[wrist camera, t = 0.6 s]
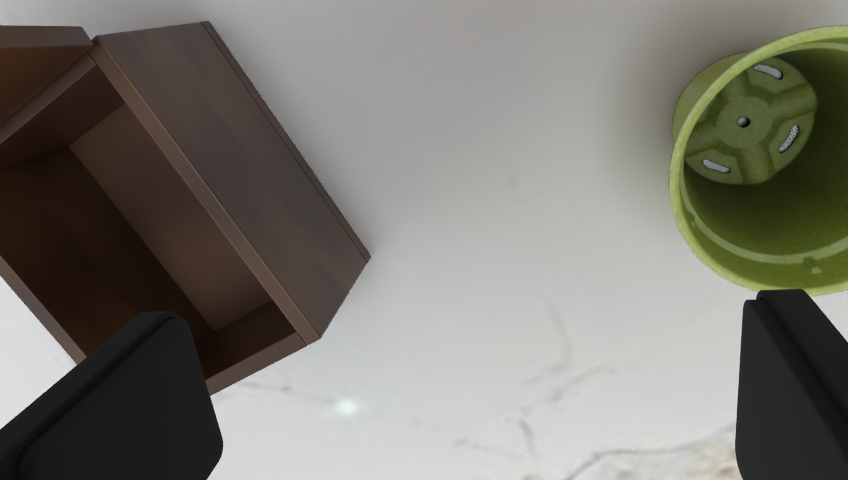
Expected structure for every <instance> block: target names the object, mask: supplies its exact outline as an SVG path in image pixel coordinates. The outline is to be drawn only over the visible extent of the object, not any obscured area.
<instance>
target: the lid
mask: <svg viewBox="0 0 848 480" xmlns="http://www.w3.org/2000/svg"><path fill="white" fill-rule="evenodd" d="M92 46H93V43H92V41H91V40H90V38H89V37H88V35H87V34H86V32H85V31H84V29H83V28H82V27H76V26H2V25H0V124H1V123H2V122H4V121H5V120H6V119H7V118H8V117H9V116H11V115H12V114H13V113H14V112H15V111H17V110H18V109H19V108H20V107H21V106H22V105H24V104H25V103H26V102H27V101H28V100H30V99H31V98H32V97H33V96H34V95H35V94H37V93H38V92H39V91H40V90H41V89H43V88H44V87H45V86H46V85H47V84H49V83H50V82H51V81H52V80H53V79H54V78H56V77H57V76H58V75H59V74H60V73H62V72H63V71H64V70H65V69H66V68H67V67H69V66H70V65H71V64H72V63H73V62H75V61H76V60H77V59H78V58H79V57H81V56H82V55H83V54H84V53H85V52H86V51H88V50H89V49H90V48H91V47H92Z"/></svg>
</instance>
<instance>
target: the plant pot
mask: <svg viewBox="0 0 848 480" xmlns="http://www.w3.org/2000/svg"><path fill="white" fill-rule="evenodd" d="M759 64H762V65H767V66H770V67H773V68H777V69H778V70H780V71H782V74H783V79H781V80H779V79H777V78H775V77H773V76H771V75H769V74H766V73H763V72H759V71H756V70H754V67H756V66H758V65H759ZM741 117H747V118H749V120H750V124H749V125H748V126H747V127H745V128H743V127H741V126H739V125H738V120H739V118H741ZM795 125H798V126H799V128H800V129H799V134H798V137H797V139H796V140H795V141H794V143H793V144H792V146H791V147H790V148H789V149H788V150H786V151H785V152H783V153H780V152H779V148H780V147H781V146H782V144H783V143H784V142H785V141H786V139H787V138H788V136H789V134H790V132H791V129H792V128H793V126H795ZM672 134H673V141H674V147H673V151H672V155H671V161H670V168H669V196H670V203H671V208H672V212H673V215H674V218H675V221H676V224H677V226H678V229H679V231H680V233H681V235H682V237H683V239H684V240H685V242H686V243H687V245H688V246H689V248H690V249H691V250H692V252H693V253H694V254H695V255H696V256H697V257H698V259H699V260H700V261H701V262H702V263H704V264H705V265H706V266H707V267H708V268H709V269H711V270H712V271H713V272H715V273H716V274H718V275H719V276H721V277H722V278H724V279H726V280H728V281H730V282H732V283H734V284H736V285H739V286H741V287H744V288H746V289H749V290H752V291H756V292H759V291H760V290H778V289H803V290H804V291H806V293H807V294H808V295H809V296H810V297H814V296H820V295H826V294H832V293H837V292H842V291H846V290H848V25H839V26H827V27H819V28H813V29H808V30H804V31H800V32H796V33H793V34H790V35H787V36H784V37H781V38H779V39H776V40H773V41H771V42H769V43H767V44H765V45H763V46H761V47H759V48H757V49H755V50H753V51H752V52H745V53H739V54H735V55H732V56H729V57H726V58H724V59H722V60H720V61H717V62H715V63H714V64H712V65H710V66H708V67H707V68H705V69H704V70H703V71H701V72H700V73H699V74H698V75H697V76H696V77H695V78H694V79H693V80H692V81H691V82H690V83H689V85H688V86H687V87H686V88H685V90H684V91H683V93H682V95H681V96H680V98H679V100H678V103H677V105H676V108H675V112H674V116H673V123H672ZM705 159H708V160H710V161H712V162H714V163H716V164H718V165H721V166H724V167H729V168H730V170H731V172H728V173H726V174H724V173H722V172H719V171H716V170H710V169H708V168H707V167H705V166H704V165H703V160H705Z"/></svg>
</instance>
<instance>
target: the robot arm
mask: <svg viewBox="0 0 848 480" xmlns="http://www.w3.org/2000/svg"><path fill="white" fill-rule="evenodd" d="M222 451H223V439H222V435H221V432H220V428H219V425H218V422H217V418H216V415H215V412H214V408H213V405H212V401H211V398H210V395H209V391H208V388H207V384H206V381H205V378H204V374H203V371H202V367H201V364H200V361H199V357H198V354H197V350H196V347H195V344H194V340H193V337H192V333H191V330H190V327H189V324H188V323H187V321H186V320H184V319H183V318H180V316H179V315H178V314H177V313H176V312H174V311H158V312H141V313H140V314H138V315H137V316H135V317H134V318H133V319H132V320H131V321H129V322H128V323H127V324H126V325H125V326H123V327H122V328H121V329H120V330H119V331H118V332H116V333H115V334H114V335H113V336H112V337H110V338H109V339H108V340H107V341H106V342H104V343H103V344H102V345H101V346H100V347H98V348H97V349H96V350H95V351H94V352H92V353H91V354H90V355H89V356H88V357H86V358H85V359H84V360H83V361H82V362H80V363H79V364H78V365H77V366H76V367H74V368H73V369H72V370H71V371H70V372H69V373H67V374H66V375H65V376H64V377H63V378H61V379H60V380H59V381H58V382H57V383H55V384H54V385H53V386H52V387H51V388H49V389H48V390H47V391H46V392H45V393H43V394H42V395H41V396H40V397H39V398H37V399H36V400H35V401H34V402H33V403H31V404H30V405H29V406H28V407H27V408H25V409H24V410H23V411H22V412H21V413H20V414H18V415H17V416H16V417H15V418H14V419H12V420H11V421H10V422H9V423H8V424H6V425H5V426H4V427H3V428H2V429H0V480H207V478H208V477H209V475H210V474H211V472H212V471H213V469H214V468H215V466H216V465H217V463H218V462H219V460H220V458H221V455H222ZM735 451H736V459H737V464H738V468H739V471H740V473H741V476H742V478H743V480H848V342H847V341H846V340H845V338H844V337H843V336H842V335H841V334H840V332H839V331H838V330H837V329H836V328H835V326H834V325H833V324H832V323H831V322H830V320H829V319H828V318H827V317H826V316H825V314H824V313H823V312H822V311H821V309H820V308H819V307H818V306H817V305H816V303H815V302H814V301H813V300H812V299H811V297H810V296H809V295H808V294H807V293H806V291H804V290H803V289H778V290H760V291H759V292H758V294H757V297H756V300H746V301H745V303H744V306H743V319H742V336H741V353H740V370H739V387H738V405H737V422H736V439H735Z"/></svg>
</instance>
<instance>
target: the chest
mask: <svg viewBox="0 0 848 480" xmlns="http://www.w3.org/2000/svg"><path fill="white" fill-rule="evenodd" d="M91 41H92V43H93V46H92V47H91V48H90V49H89V50H88V51H86V52H85V53H84V54H83V55H82V56H81V57H79V58H78V59H77V60H76V61H75V62H73V63H72V64H71V65H70V66H69V67H67V68H66V69H65V70H64V71H63V72H62V73H60V74H59V75H58V76H57V77H56V78H54V79H53V80H52V81H51V82H50V83H49V84H47V85H46V86H45V87H44V88H43V89H41V90H40V91H39V92H38V93H37V94H35V95H34V96H33V97H32V98H31V99H30V100H28V101H27V102H26V103H25V104H24V105H22V106H21V107H20V108H19V109H18V110H17V111H15V112H14V113H13V114H12V115H11V116H9V117H8V118H7V119H6V120H5V121H4V122H2V123H1V124H0V276H1V277H2V278H3V279H4V280H5V282H6V283H7V284H8V285H9V286H10V287H11V289H12V290H13V291H14V292H15V293H16V294H17V296H18V297H19V298H20V299H21V300H22V301H23V302H24V304H25V305H26V306H27V307H28V308H29V309H30V311H31V312H32V313H33V314H34V315H35V316H36V318H37V319H38V320H39V321H40V322H41V323H42V324H43V326H44V327H45V328H46V329H47V330H48V331H49V333H50V334H51V335H52V336H53V337H54V338H55V340H56V341H57V342H58V343H59V344H60V345H61V346H62V348H63V349H64V350H65V351H66V352H67V353H68V355H69V356H70V357H71V358H72V359H73V360H74V362H75V363H76V364H77V365H78V364H79V363H80V362H82V361H83V360H84V359H85V358H86V357H88V356H89V355H90V354H91V353H92V352H94V351H95V350H96V349H97V348H98V347H100V346H101V345H102V344H103V343H104V342H106V341H107V340H108V339H109V338H110V337H112V336H113V335H114V334H115V333H116V332H118V331H119V330H120V329H121V328H122V327H123V326H125V325H126V324H127V323H128V322H129V321H131V320H132V319H133V318H134V317H135V316H137V315H138V314H140V313H141V312H158V311H174V312H176V313H177V314H178V315H179V316H180V318H183V319H184V320H186V321H187V323H188V324H189V327H190V330H191V333H192V337H193V340H194V344H195V347H196V350H197V354H198V357H199V361H200V364H201V367H202V371H203V374H204V378H205V381H206V384H207V388H208V391H209V395H210V396H211V395H213V394H215V393H217V392H219V391H221V390H223V389H224V388H226V387H228V386H230V385H232V384H234V383H236V382H238V381H240V380H242V379H244V378H246V377H248V376H250V375H252V374H254V373H255V372H257V371H259V370H261V369H263V368H265V367H267V366H269V365H271V364H273V363H275V362H277V361H279V360H281V359H283V358H285V357H287V356H288V355H290V354H292V353H294V352H296V351H298V350H300V349H302V348H304V347H306V346H307V345H309V344H311V343H313V342H315V341H317V340H319V339H320V338H321V337H322V335H323V334H324V332H325V331H326V329H327V327H328V326H329V324H330V322H331V321H332V319H333V318H334V316H335V314H336V313H337V311H338V309H339V308H340V306H341V305H342V303H343V301H344V300H345V298H346V296H347V295H348V293H349V292H350V290H351V288H352V287H353V285H354V283H355V282H356V280H357V279H358V277H359V275H360V274H361V272H362V270H363V269H364V267H365V266H366V264H367V263H368V261H369V260H370V258H371V256H370V255H369V253H368V252H367V250H366V249H365V247H364V246H363V245H362V243H361V242H360V240H359V239H358V237H357V236H356V234H355V233H354V231H353V230H352V229H351V227H350V226H349V224H348V223H347V221H346V220H345V218H344V217H343V216H342V214H341V213H340V211H339V210H338V208H337V207H336V205H335V204H334V202H333V201H332V200H331V198H330V197H329V195H328V194H327V192H326V191H325V189H324V188H323V187H322V185H321V184H320V182H319V181H318V179H317V178H316V176H315V175H314V173H313V172H312V171H311V169H310V168H309V166H308V165H307V163H306V162H305V160H304V159H303V158H302V156H301V155H300V153H299V152H298V150H297V149H296V147H295V146H294V144H293V143H292V142H291V140H290V139H289V137H288V136H287V134H286V133H285V131H284V130H283V129H282V127H281V126H280V124H279V123H278V121H277V120H276V118H275V117H274V115H273V114H272V113H271V111H270V110H269V108H268V107H267V105H266V104H265V102H264V101H263V100H262V98H261V97H260V95H259V94H258V92H257V91H256V89H255V88H254V86H253V85H252V84H251V82H250V81H249V79H248V78H247V76H246V75H245V73H244V72H243V70H242V69H241V68H240V66H239V65H238V63H237V62H236V60H235V59H234V57H233V56H232V55H231V53H230V52H229V50H228V49H227V47H226V46H225V44H224V43H223V41H222V40H221V39H220V37H219V36H218V34H217V33H216V31H215V30H214V28H213V27H212V26H211V24H210V23H209V21H205V22H199V23H191V24H183V25H176V26H168V27H160V28H152V29H144V30H136V31H129V32H121V33H113V34H105V35H97V36H95V37H94V38H93V39H92V40H91Z"/></svg>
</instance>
